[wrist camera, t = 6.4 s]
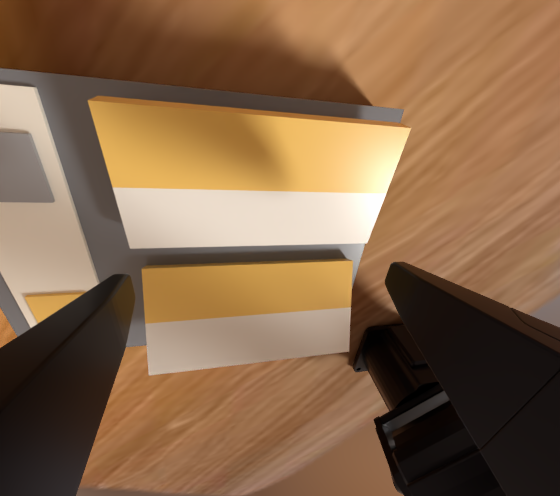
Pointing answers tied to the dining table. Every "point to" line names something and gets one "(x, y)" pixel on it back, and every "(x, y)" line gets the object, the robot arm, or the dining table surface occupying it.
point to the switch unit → (102, 193)
